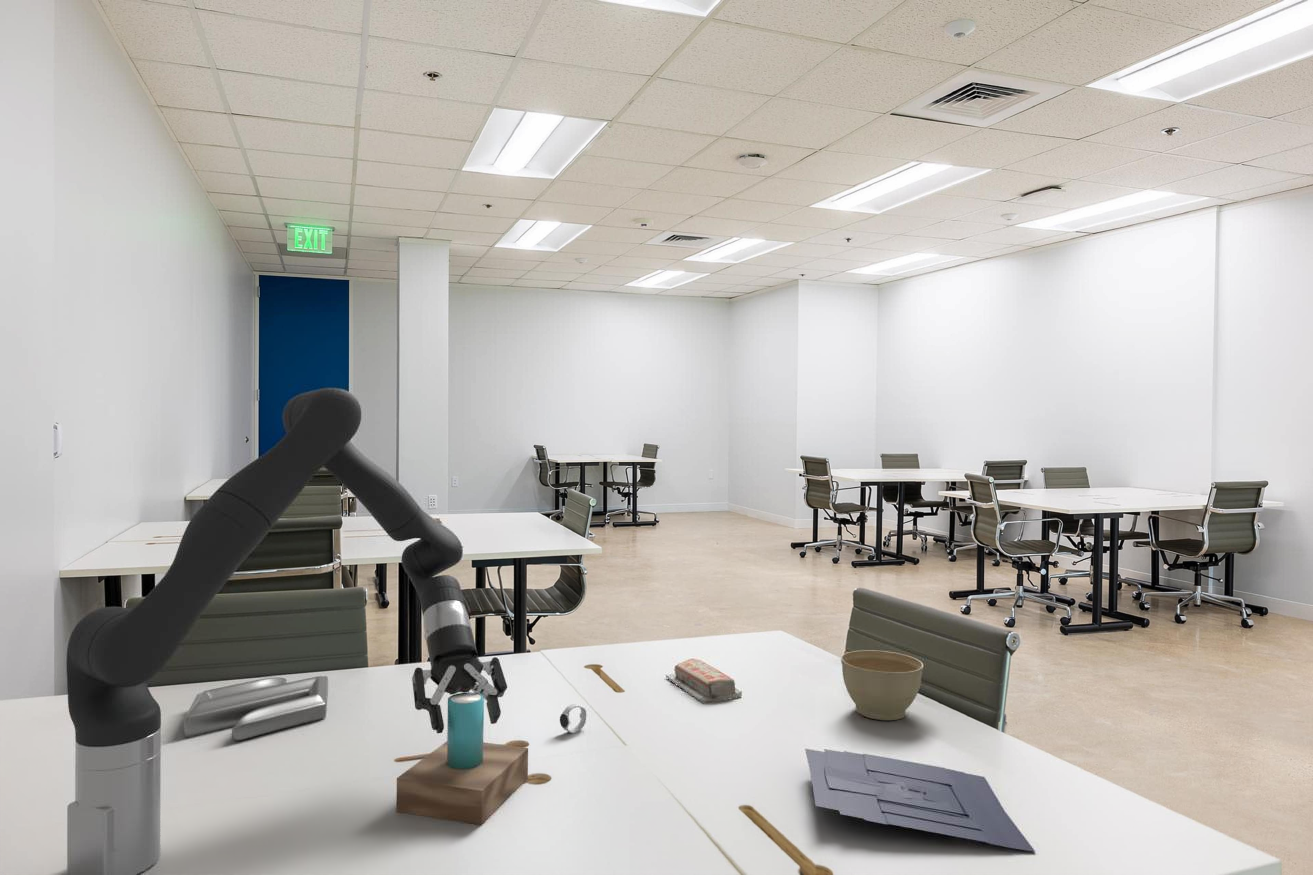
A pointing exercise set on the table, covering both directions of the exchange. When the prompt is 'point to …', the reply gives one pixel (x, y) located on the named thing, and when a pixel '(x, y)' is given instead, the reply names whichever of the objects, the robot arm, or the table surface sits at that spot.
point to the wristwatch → (565, 721)
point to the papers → (911, 796)
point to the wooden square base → (462, 784)
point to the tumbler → (465, 730)
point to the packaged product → (704, 681)
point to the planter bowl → (881, 682)
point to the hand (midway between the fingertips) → (468, 726)
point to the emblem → (257, 707)
